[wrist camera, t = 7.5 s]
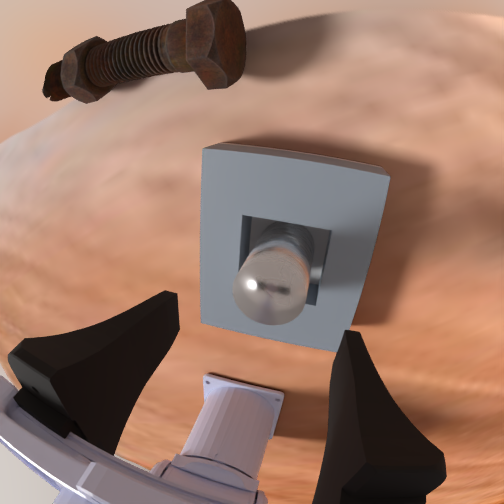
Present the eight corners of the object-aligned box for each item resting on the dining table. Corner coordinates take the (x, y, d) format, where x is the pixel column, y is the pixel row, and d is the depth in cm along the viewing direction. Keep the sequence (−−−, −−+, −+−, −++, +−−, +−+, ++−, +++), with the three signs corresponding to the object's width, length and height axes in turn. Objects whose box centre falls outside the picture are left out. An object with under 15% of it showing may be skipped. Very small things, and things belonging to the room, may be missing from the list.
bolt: (85, 73, 20) (252, 40, 16) (66, 124, 20) (241, 101, 16) (42, 42, 15) (225, -23, 11) (16, 97, 14) (203, 37, 11)
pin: (313, 272, 20) (304, 328, 15) (260, 269, 21) (235, 321, 16) (315, 221, 19) (307, 264, 14) (258, 218, 20) (229, 259, 14)
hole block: (341, 325, 22) (340, 353, 20) (215, 299, 24) (200, 322, 21) (381, 166, 17) (390, 176, 14) (221, 142, 19) (202, 148, 16)
